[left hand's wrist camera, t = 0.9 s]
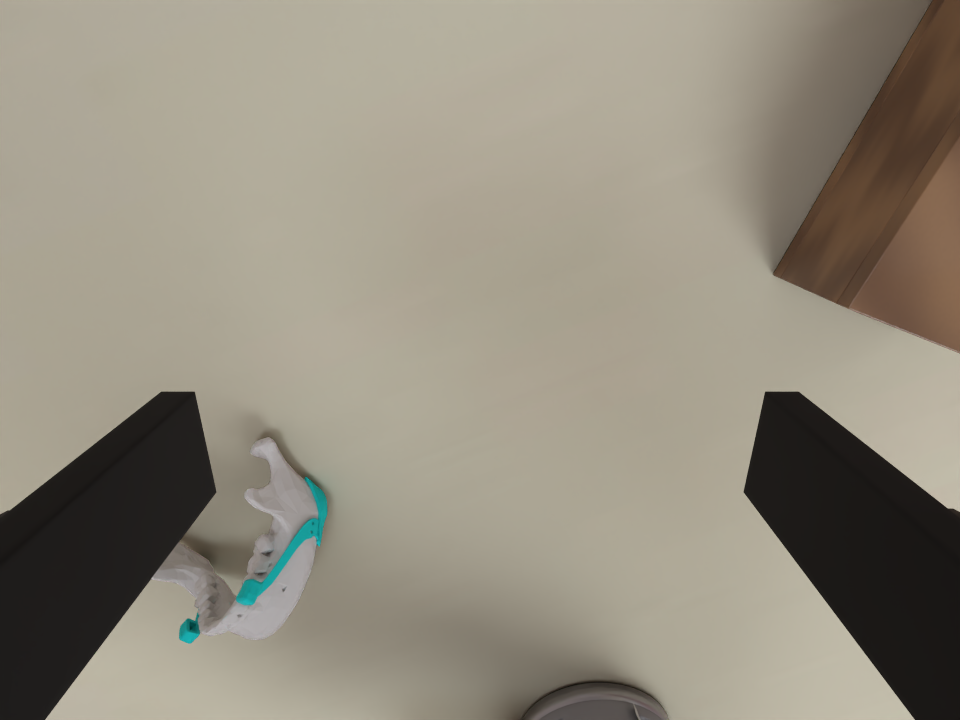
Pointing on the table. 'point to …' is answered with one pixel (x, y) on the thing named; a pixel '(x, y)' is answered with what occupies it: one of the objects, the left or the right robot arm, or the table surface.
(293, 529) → the anatomical model
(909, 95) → the wooden box
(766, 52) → the table surface
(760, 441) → the left robot arm
